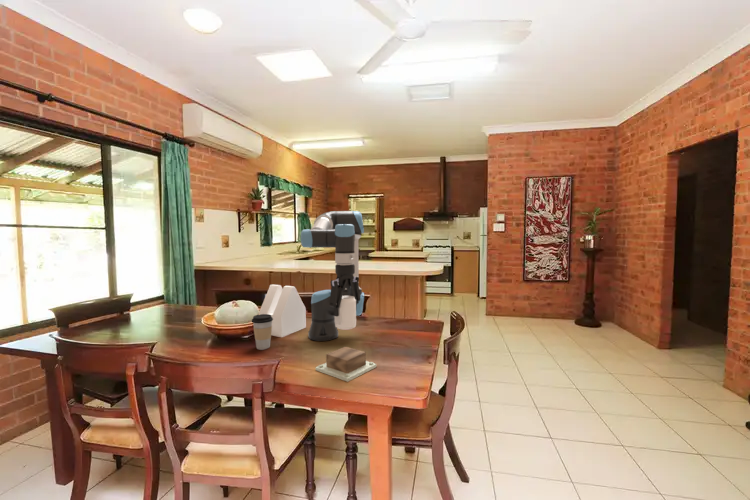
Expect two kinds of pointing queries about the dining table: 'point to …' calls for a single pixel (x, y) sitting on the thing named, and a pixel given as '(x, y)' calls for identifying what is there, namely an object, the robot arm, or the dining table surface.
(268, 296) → the white notched block
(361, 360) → the walnut brick
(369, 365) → the baseplate
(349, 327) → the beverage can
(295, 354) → the dining table surface
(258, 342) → the coffee cup
